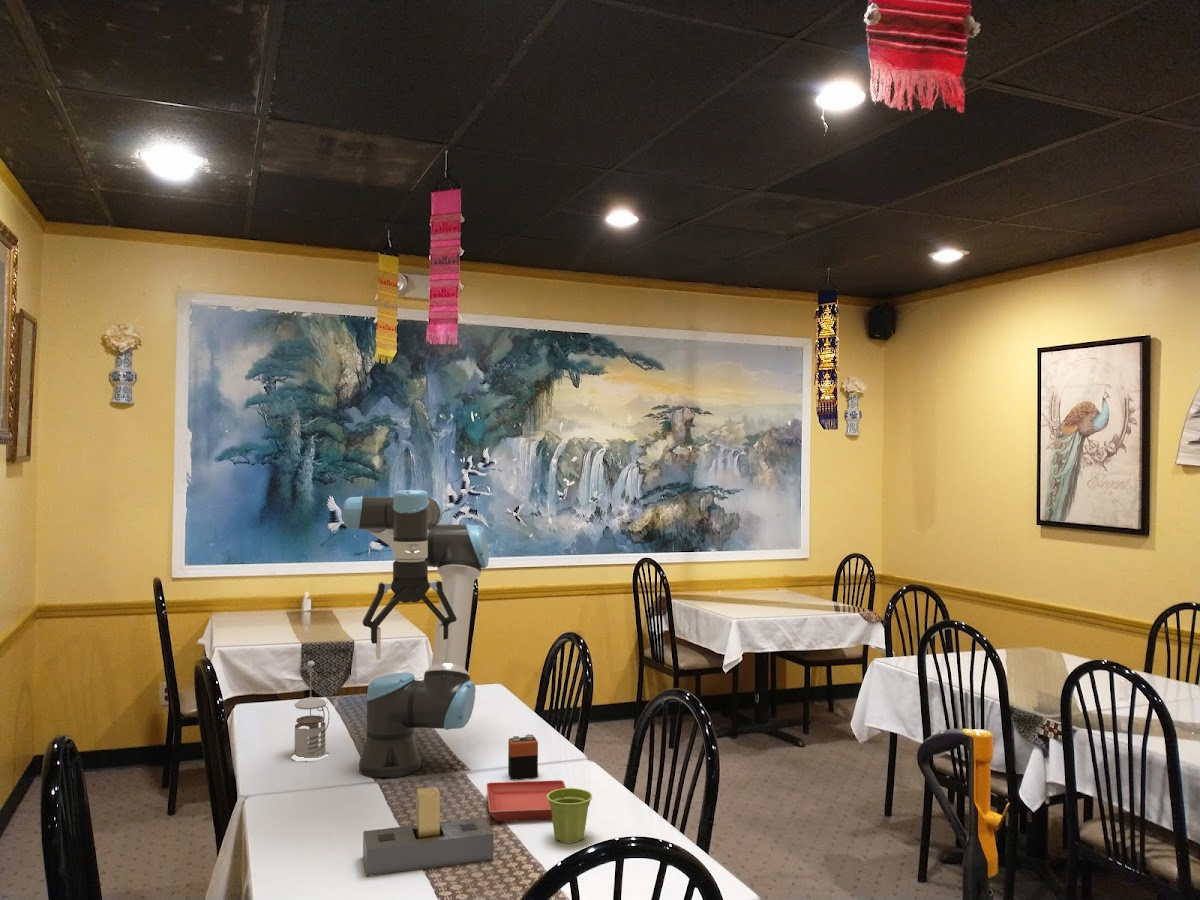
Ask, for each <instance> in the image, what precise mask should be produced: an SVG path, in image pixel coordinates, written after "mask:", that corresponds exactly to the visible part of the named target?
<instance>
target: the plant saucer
mask: <svg viewBox="0 0 1200 900" xmlns="http://www.w3.org/2000/svg"><path fill="white" fill-rule="evenodd" d="M562 788H567V787H566V784H565V781H564V780H560V779H559V780H558V779H557V780H532V781H528V780H527V781H500V782H498V781H497V782H496V781H495V782H487V783H486V794H487V805H488V806H487V807H488V812H489V813H490V815H491V816H492V817H493V818H494V819H495V821H497V822H514V821H515V820H520V821H535V820H536V821H539V820H552V812H551V807H550V805H549V800H548V799H547V794H548V793H549V792H551V791H553V790H557V789H562ZM515 822H516V821H515Z"/></svg>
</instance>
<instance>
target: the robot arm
mask: <svg viewBox="0 0 1200 900" xmlns="http://www.w3.org/2000/svg"><path fill="white" fill-rule="evenodd" d="M342 507H343V508H342V521H343V524H344V526H345V527H346V528H347V529H350V530H357V531H358V530H365V531H367V532H368V533H370V534H371V535H373V536H374V537H376V538H377V539H378V540H380V541H382V542H383V543H385V544H387V546H389V548H390V550H391V551H392V558H393V559H395V560H394V561H393V562H392V582H391V583H384V582H383V581H382V582H381V581H380V582H378V585H377V591H376V594H375V596H374V598H373V599H372V602H371V604H370V606H369V608H368V610H367V612H366V614H365V616H364V617H363V620H362V625H363V627H366V628H370V641H371V644H375V658H376V660H381V659H382V658H381V653H382V650H381V649H382V648H381V645H382V642H381V641H382V636H381V635H382V634H381V633H382V632H381V631H382V630H381V627H380V625H381V624H382V622H383V621H385V619H386V618H387V616H388V615H389V614H390V613H391V612H392V611H393V609H394V608H395V607H396V606H397V605H398V604H400V602H401V603H403V604H406V603H407V604H408V603H418V602H421V601H422V602H423V603H424V604H425V605H426V606H427V607H428V608H429V610H430V611H431V612H432V613H433V614H434V615H435V616H436V617H437V618H436V626H435V631H434V632H435V633H434V642H433V648H432V649H433V650H432V658H431V666H430V667H428V668H427V669H426V670H425V671H424V675H423V680H421V679H420V680H419V679H417V680H416V677H415V675H414V674H413V673H412V672H397V673H392V674H385V675H382V676H379V677H376V678H374V679H373V680H371V681H370V682H369V683H368V685H367V690H366V691H367V693H366V699H365V700H366V740H365V742H364V746H363V749H362V753H361V756H360V759H359V764H358V771H359V773H360V772H361V773H360V774H362V775H363V776H366V777H370V776H371V777H372V778H377V777H390V778H397V777H404V776H407V775H410V774H411V775H412V774H413V773H415V772H417V771H419V770H420V768H421V755H420V753H419V752H418V746H417V742H416V739H415V735H414V734H415V731H414V729H439V730H441V729H442V730H445V731H446V730H448V731H449V730H460V729H462V728H463V729H464V727H466V726H467V724H468V723H469V721H470V720H471V717H472V714H473V710H474V705H475V700H476V684H475V683H474V682H473V681H471V679H470V678H471V675H470V673H469V672H468V671H467V670H466V661H467V652H468V644H469V643H468V641H469V631H470V626H471V625H470V622H471V612H472V604H473V594H474V586H475V581H476V580H477V579H478V578H480V576H481V573H482V569H486V568H488V566H489V555H490V554H489V543H488V538H487V533H486V531H485V529H484V528H483V527H482V526H481V525H478V524H477V525H476V524H469V523H466V524H441V523H440V522H441V521H442V519H443V514H444V512H443V511H444V510H443V506H442V505H441V503H440V502H439V500H437V499H436V498H434V497H431V496H429V494H428V492H427V490H423V489H401V490H396V491H395V492H394V495H393V496H391V497H389V496H362V495H360V496H352V497H351V496H350V497H348V498H347V499H346V500H345V501H344V503H343V506H342ZM429 568H437V570H436V571H437V574H438V575H439V576H440V577H441V580H440V579H437V580H435V581H429V579H428V575H429V574H428V572H429V571H428V570H429ZM430 588H432V590H433V591H434V592H436V594H437V597H438V598H439V601H438V607H437V606H436V605H435V604H434V603H433V602H432V601H431V599H429V597H428V596H427V595H426V593H427V592H428V591H429V589H430ZM389 590H390V591H392V593H393V594H394V595H393V596H392V597H391V598H390V600H389V602H388V603H386V605H384V607H383V608H382V610H381V611H380V612H379V613H378V614H377V616H376V617H375V618H374V616H375V613H376V611H377V609H378V607H379V606H380V603H381V601H382V599H383V597H384V595H385V594H387V593H388V591H389ZM373 618H374V619H373ZM372 619H373V620H372ZM371 777H370V778H371Z"/></svg>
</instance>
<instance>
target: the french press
mask: <svg viewBox="0 0 1200 900" xmlns="http://www.w3.org/2000/svg"><path fill="white" fill-rule="evenodd" d="M306 666H308V667H310V668H309V670H310V672H309V673H310V675H309V676H310V677H309V678H310V682H309V684H310V685H309V686H310V687H309V689H310V690H309V697H305V698H301V699H300V700H298V701H297V702H295V703H294V707H295V708H296V709H299V710H309V715H304V716H300V717H298V718H296V724H295V725H294V747H293V748H294V753H293V754H295V755H296V756H298V757H304V758H319V757H322V756H324V755H326V754H327V753H329V752H328V751H327V750H326V730H327V729H328V727H329V724H330V716H328V720H327V721H328V722H327V724H326V722H325V715H326V713H325V710H324V708H326V710H327V713H328V715H330V711H329V708H328V707H327V706H326V705H327V704H328V703H327V701H326V700H325V699H323V698H320V697H316V696H315V697H313V696H312V667H313V666H315V662H314V661H313V660H308V662H307V665H306ZM312 710H317V711H318V712H323V715H313V714H312ZM319 723H320V727H319ZM301 727H307V728H301Z"/></svg>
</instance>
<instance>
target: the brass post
mask: <svg viewBox="0 0 1200 900" xmlns="http://www.w3.org/2000/svg"><path fill="white" fill-rule="evenodd" d="M439 790H440V789H439V788H438V787H437V786H432V787H424V788H423V787H422V788H417V789H416V794H415V796H416V797H415V798H416V800H415V802H416V803H415V804H416V808H415V811H416V812H415V819H416V820H415V821H416V822H415V825H416V840H417V839H425V838H433V837H440V822H441V793H440V791H439Z"/></svg>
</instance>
